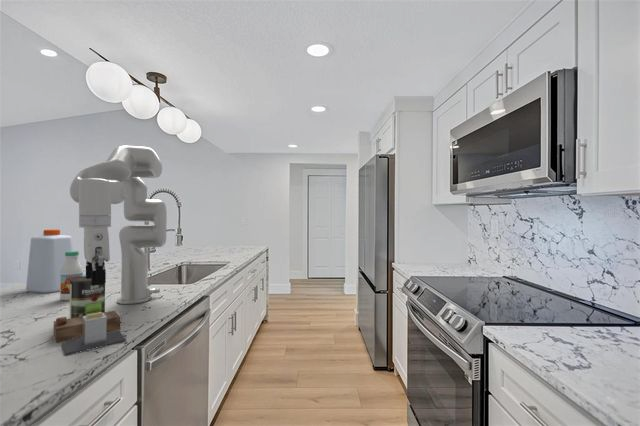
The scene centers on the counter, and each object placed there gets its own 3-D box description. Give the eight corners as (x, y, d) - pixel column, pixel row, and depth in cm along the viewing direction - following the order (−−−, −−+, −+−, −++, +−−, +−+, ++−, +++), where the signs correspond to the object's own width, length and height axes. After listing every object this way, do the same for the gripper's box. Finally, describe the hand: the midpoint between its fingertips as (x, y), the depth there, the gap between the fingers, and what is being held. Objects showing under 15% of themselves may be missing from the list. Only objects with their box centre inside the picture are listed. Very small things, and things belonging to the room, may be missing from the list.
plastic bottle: (47, 294, 143) (47, 231, 143) (21, 291, 146) (21, 230, 146) (79, 286, 158) (80, 229, 157) (55, 284, 161) (55, 228, 161)
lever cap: (103, 336, 96) (103, 310, 96) (106, 341, 93) (106, 314, 93) (82, 340, 93) (82, 313, 93) (84, 346, 89) (85, 317, 89)
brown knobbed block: (114, 322, 109) (114, 305, 109) (120, 329, 104) (120, 311, 104) (53, 334, 98) (53, 316, 98) (55, 342, 93) (56, 323, 93)
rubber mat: (118, 332, 101) (118, 330, 101) (126, 341, 94) (126, 339, 94) (61, 344, 91) (61, 342, 91) (65, 355, 85) (65, 353, 85)
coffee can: (110, 317, 115) (111, 277, 115) (77, 325, 106) (77, 282, 106) (96, 311, 120) (97, 274, 120) (63, 319, 112) (64, 278, 112)
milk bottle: (55, 299, 135) (56, 251, 135) (75, 295, 142) (75, 249, 142) (67, 301, 132) (67, 253, 132) (87, 297, 139) (87, 250, 139)
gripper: (117, 223, 89) (117, 285, 89) (104, 220, 101) (104, 274, 102) (83, 224, 84) (84, 289, 84) (74, 220, 96) (75, 277, 97)
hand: (95, 281), depth 93 cm, fingers open, 9 cm apart
